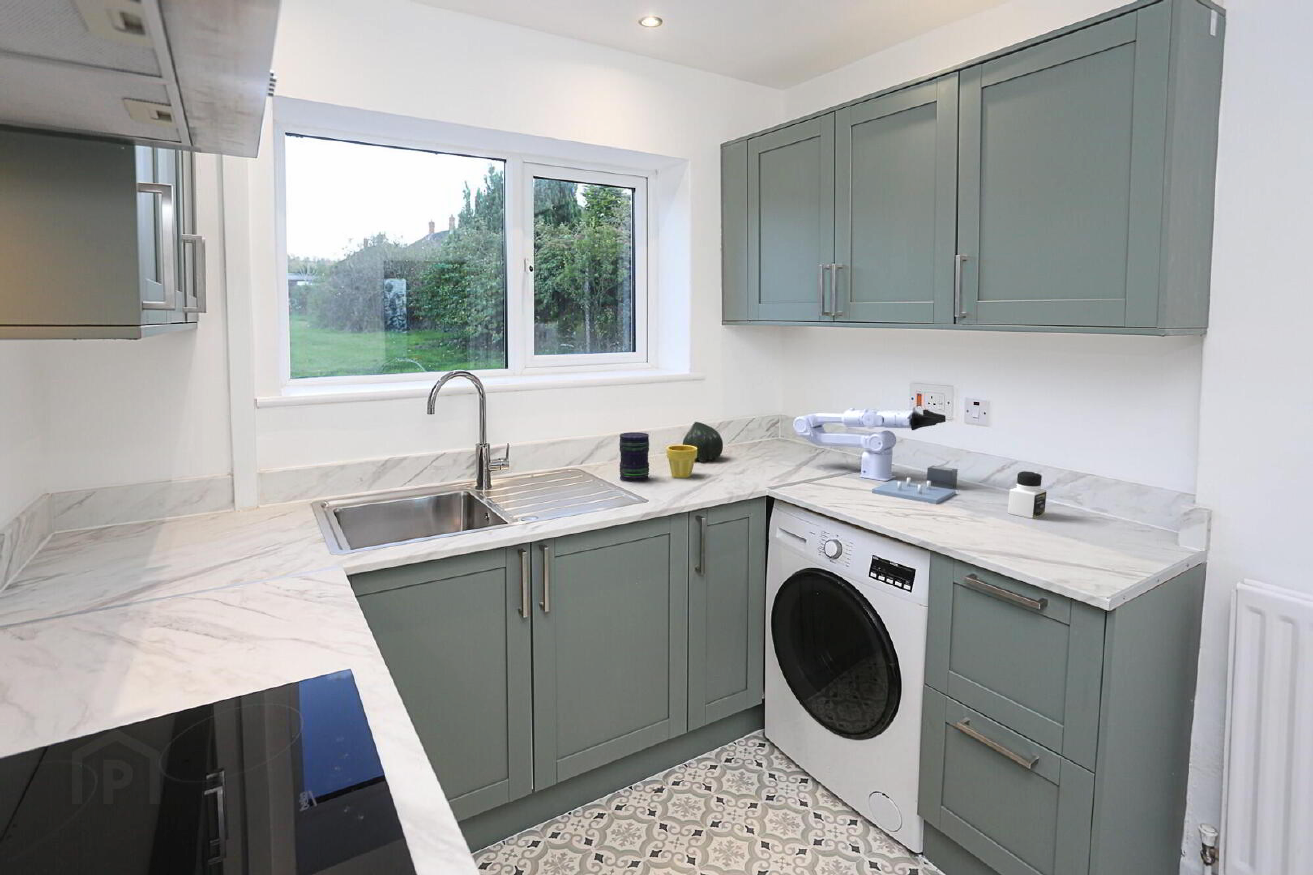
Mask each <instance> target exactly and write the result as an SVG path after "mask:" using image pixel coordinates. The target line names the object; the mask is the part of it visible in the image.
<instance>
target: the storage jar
mask: <svg viewBox="0 0 1313 875" xmlns="http://www.w3.org/2000/svg"><path fill="white" fill-rule="evenodd" d="M649 437H650V435H649V433H646V432H622V433H620V434H619V452H620V462H619V476H620V477H619V480H620V481H622V482H625V483H627V482H628V483H643V482H647V481H648V480H649V478H650V477H649V472H650V462H649V451H650V442H649V441H650V438H649Z"/></svg>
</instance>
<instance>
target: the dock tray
mask: <svg viewBox="0 0 1313 875" xmlns="http://www.w3.org/2000/svg"><path fill="white" fill-rule="evenodd" d="M911 480H912V478H911V477H907V478H906V481H901V480H895V479H893V480H891V481H889V482H885V483H884V484H881V485H879V486H877V487H874V488H872V490H871V493H872V494H875V495H876V494H877V495H881V496H888V497H893V498H899V499H900V498H901V499H905V500H910V501H911V500H912V501H916V502H921V501H923V503H927V502H928V503H927V504H934V505H937V504H940V503H941V502H944V501H945V500H947V499H949V498H950V497H952V496H954V495H956V494H957V493H956V492H957V489H946V488H939V487H933V486H931V481H927V480H926V484H927V485H926V484H919V483H914V482H911ZM948 497H949V498H948Z"/></svg>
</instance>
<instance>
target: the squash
mask: <svg viewBox="0 0 1313 875" xmlns="http://www.w3.org/2000/svg"><path fill="white" fill-rule="evenodd" d="M682 445H689V446H694V447H696V448H697V458H696V459H695V461H694V462H699V461H700V462H707V460H708V461H709V460H714V461H715V460H716V459H718V458H719V457H720V456H721V455H722V453H723V449H724V443H723V438H722V436H721V434H720V433H719V432H718V431H717V430H716V429H715V428H713V427H712V426H709V425H707V424H705V423H703V422H699V421H694V422H693V424H692V425H691V427H690V429H689V430H688V431H687V433H686V434H685V436H684V438H683V440H682Z"/></svg>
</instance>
